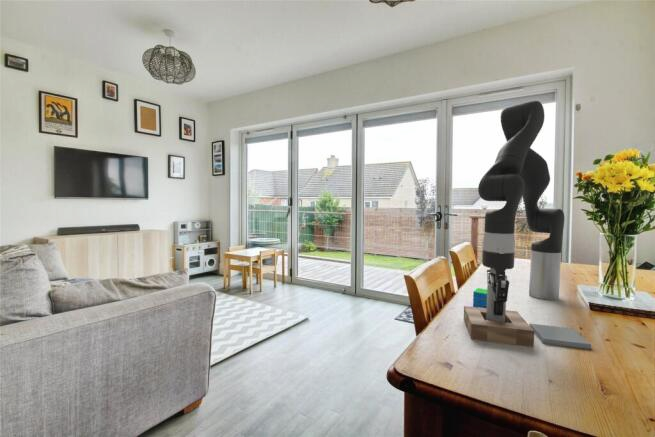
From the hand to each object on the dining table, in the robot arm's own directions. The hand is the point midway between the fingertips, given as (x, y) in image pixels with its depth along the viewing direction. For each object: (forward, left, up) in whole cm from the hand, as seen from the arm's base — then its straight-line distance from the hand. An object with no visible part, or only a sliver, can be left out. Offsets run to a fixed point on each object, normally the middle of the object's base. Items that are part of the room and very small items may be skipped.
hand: (495, 311), depth 83 cm
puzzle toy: (-20, +1, -6) cm, 21 cm away
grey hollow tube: (0, 0, -3) cm, 3 cm away
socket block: (0, 0, -6) cm, 6 cm away
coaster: (-1, +15, -6) cm, 16 cm away
